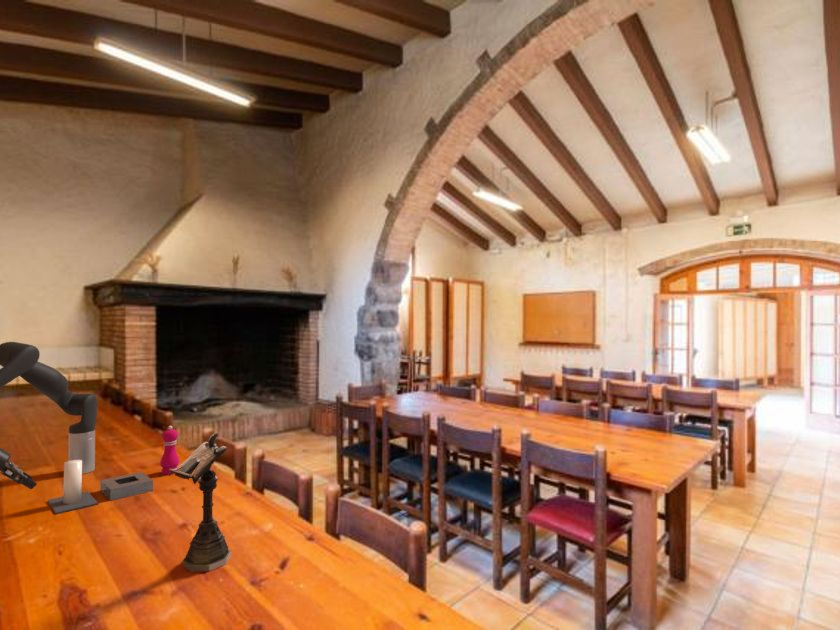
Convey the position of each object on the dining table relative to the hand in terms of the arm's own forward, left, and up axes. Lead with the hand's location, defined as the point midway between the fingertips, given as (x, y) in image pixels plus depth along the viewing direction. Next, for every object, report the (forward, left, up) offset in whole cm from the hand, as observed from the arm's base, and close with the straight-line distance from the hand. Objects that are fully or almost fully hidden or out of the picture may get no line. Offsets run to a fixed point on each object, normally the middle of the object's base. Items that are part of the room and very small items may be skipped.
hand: (32, 483), depth 162 cm
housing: (0, +28, -10) cm, 30 cm away
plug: (0, +11, -9) cm, 14 cm away
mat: (0, +11, -10) cm, 15 cm away
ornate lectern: (+76, +26, -10) cm, 81 cm away
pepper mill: (-11, +47, -10) cm, 50 cm away
